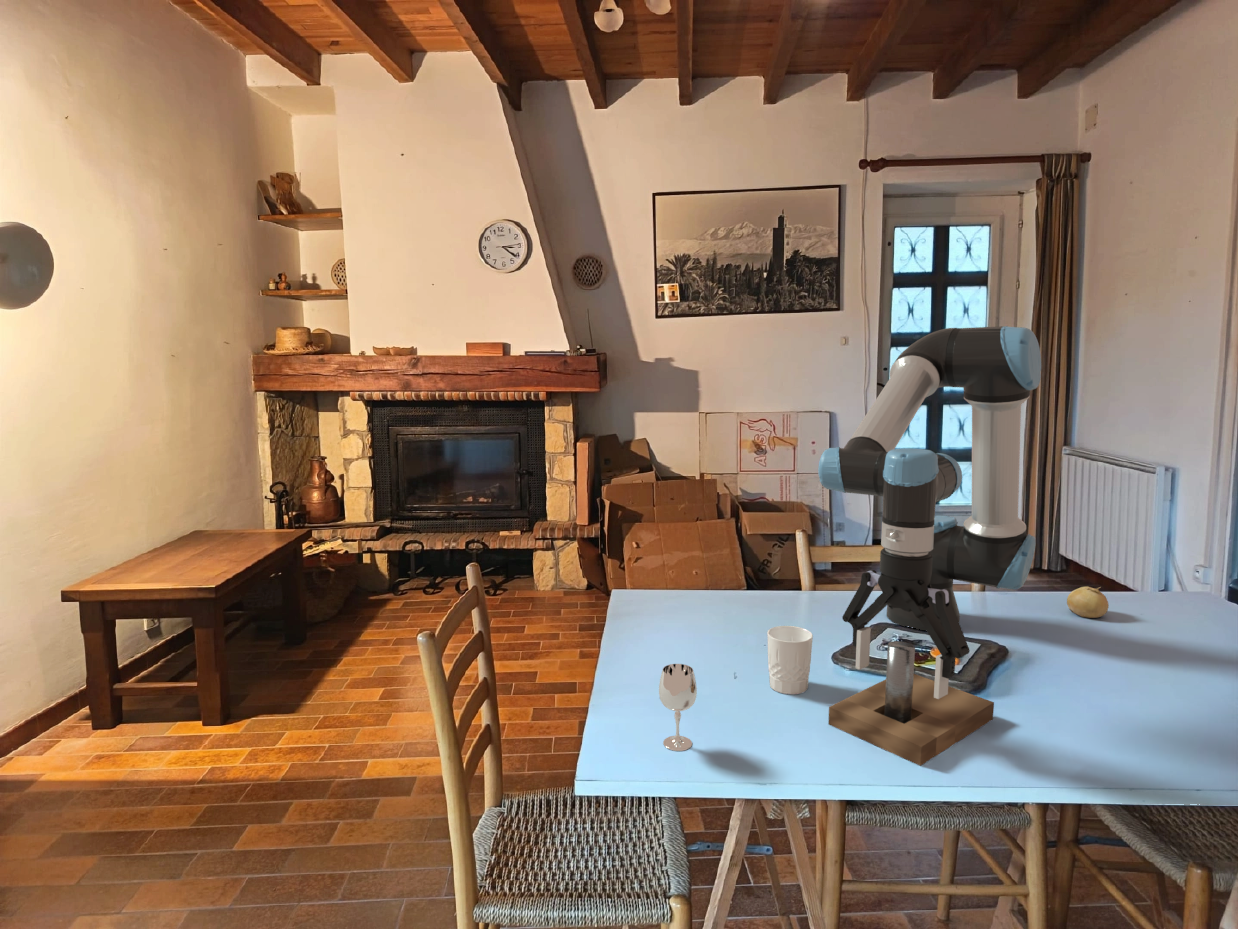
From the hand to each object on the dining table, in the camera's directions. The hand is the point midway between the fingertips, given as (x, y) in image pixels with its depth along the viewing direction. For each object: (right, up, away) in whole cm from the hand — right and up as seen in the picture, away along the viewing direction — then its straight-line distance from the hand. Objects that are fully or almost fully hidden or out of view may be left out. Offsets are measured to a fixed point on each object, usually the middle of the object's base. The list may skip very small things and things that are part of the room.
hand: (899, 681), depth 120 cm
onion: (+61, 0, +52) cm, 80 cm away
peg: (0, -8, +1) cm, 8 cm away
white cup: (-14, -6, +17) cm, 23 cm away
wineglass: (-35, -9, -2) cm, 36 cm away
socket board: (+3, -8, +4) cm, 9 cm away
